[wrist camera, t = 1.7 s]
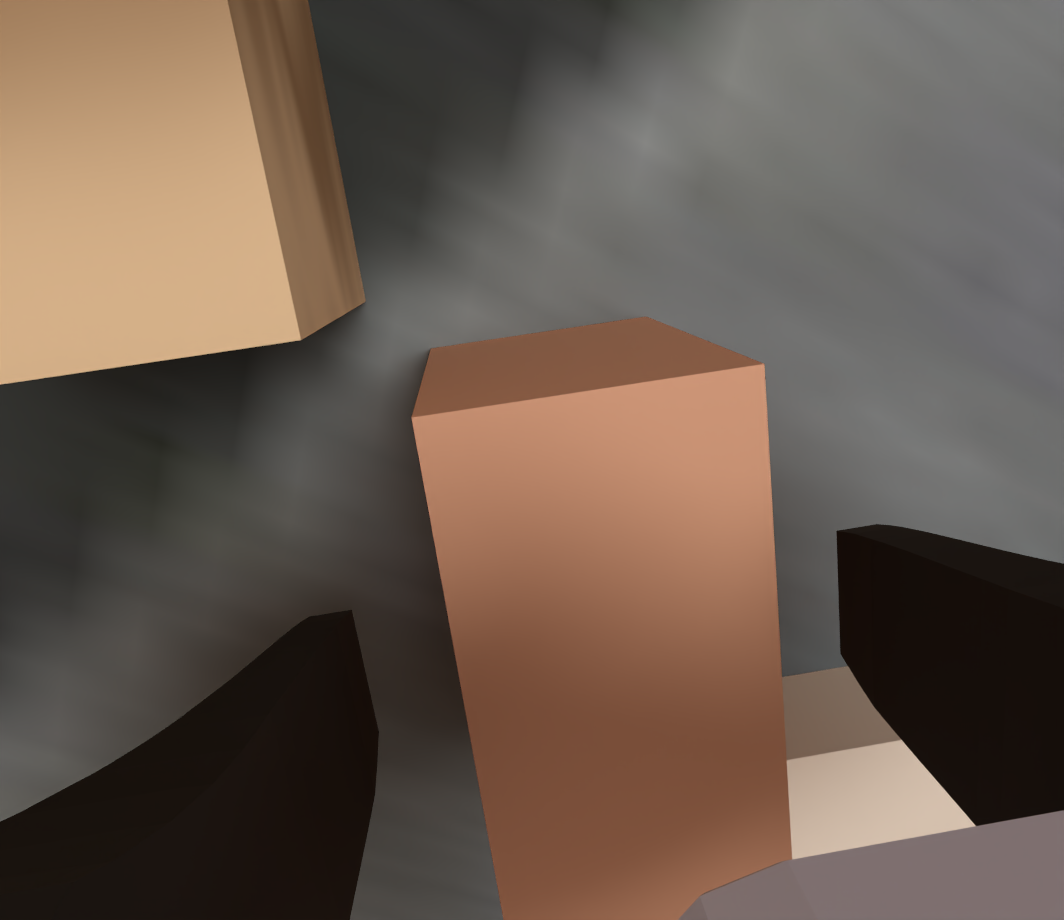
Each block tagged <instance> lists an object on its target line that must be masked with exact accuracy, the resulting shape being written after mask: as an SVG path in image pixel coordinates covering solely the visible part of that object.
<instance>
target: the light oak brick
mask: <svg viewBox="0 0 1064 920" xmlns="http://www.w3.org/2000/svg"><path fill="white" fill-rule="evenodd" d="M364 302H366V300H365V295H364V290H363V285H362V280H361V274H360V269H359V264H358V259H357V254H356V248H355V243H354V238H353V233H352V227H351V222H350V217H349V212H348V207H347V201H346V196H345V191H344V186H343V181H342V175H341V170H340V165H339V160H338V155H337V149H336V144H335V139H334V134H333V128H332V123H331V118H330V113H329V108H328V102H327V97H326V92H325V87H324V82H323V76H322V71H321V66H320V61H319V56H318V50H317V45H316V40H315V35H314V30H313V24H312V19H311V14H310V9H309V3H308V0H0V384H7V383H13V382H20V381H27V380H34V379H41V378H47V377H54V376H61V375H68V374H75V373H81V372H88V371H95V370H102V369H109V368H115V367H122V366H129V365H136V364H143V363H149V362H156V361H163V360H170V359H177V358H183V357H190V356H197V355H204V354H211V353H217V352H224V351H231V350H238V349H244V348H251V347H258V346H265V345H272V344H278V343H285V342H292V341H299V340H302V339H304V338H306V337H307V336H309V335H311V334H312V333H314V332H316V331H317V330H319V329H321V328H322V327H324V326H326V325H327V324H329V323H331V322H332V321H334V320H336V319H337V318H339V317H341V316H342V315H344V314H346V313H347V312H349V311H351V310H352V309H354V308H356V307H357V306H359V305H361V304H362V303H364Z"/></svg>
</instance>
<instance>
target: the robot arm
mask: <svg viewBox="0 0 1064 920" xmlns="http://www.w3.org/2000/svg"><path fill="white" fill-rule="evenodd" d="M837 557H838V589H839V620H840V651H841V655H842V657H843V659H844V660H845V662H846V664H847V665H848V667H849V668H850V670H851V672H852V673H853V675H854V677H855V678H856V680H857V682H858V683H859V685H860V686H861V688H862V689H863V691H864V693H865V694H866V696H867V697H868V699H869V700H870V702H871V703H872V705H873V706H874V708H875V709H876V710H877V711H878V712H879V714H880V715H881V716H882V717H883V719H884V720H885V721H886V722H887V723H888V725H889V726H890V727H891V728H892V729H893V730H894V732H895V733H896V734H897V735H898V736H899V738H900V739H901V740H902V741H903V742H904V743H905V745H906V746H907V747H908V748H909V749H910V750H911V752H912V753H913V754H914V755H915V756H916V757H917V759H918V760H919V761H920V762H921V763H922V764H923V765H924V767H925V768H926V769H927V770H928V771H929V772H930V774H931V775H932V776H933V777H934V778H935V779H936V780H937V782H938V783H939V784H940V785H941V786H942V787H943V789H944V790H945V791H946V792H947V793H948V794H949V796H950V797H951V798H952V799H953V800H954V801H955V802H956V804H957V805H958V806H959V807H960V808H961V809H962V811H963V812H964V813H965V814H966V815H967V816H968V817H969V819H970V820H971V821H972V822H973V823H974V824H975V826H974V827H969V828H963V829H958V830H952V831H947V832H941V833H936V834H930V835H925V836H919V837H914V838H908V839H902V840H897V841H891V842H886V843H880V844H875V845H869V846H864V847H858V848H853V849H847V850H842V851H836V852H831V853H825V854H820V855H814V856H808V857H803V858H797V859H792V860H786V861H781V862H778V863H776V864H774V865H771V866H769V867H766V868H764V869H761V870H759V871H756V872H754V873H752V874H749V875H747V876H744V877H742V878H739V879H737V880H735V881H732V882H730V883H727V884H725V885H722V886H720V887H717V888H715V889H713V890H710V891H708V892H705V893H703V894H702V895H701V896H699V897H698V899H697V900H696V901H695V902H694V903H693V904H692V905H691V906H690V907H689V908H688V909H687V910H686V912H685V913H684V914H683V915H682V916H681V917H680V918H679V919H678V920H1064V564H1062V563H1057V562H1052V561H1047V560H1043V559H1038V558H1034V557H1029V556H1025V555H1020V554H1016V553H1012V552H1008V551H1003V550H999V549H995V548H991V547H987V546H982V545H978V544H974V543H970V542H966V541H962V540H958V539H954V538H949V537H945V536H941V535H937V534H932V533H928V532H924V531H919V530H914V529H909V528H904V527H898V526H891V525H879V524H876V525H870V526H864V527H858V528H852V529H845V530H839V531H837ZM378 736H379V731H378V727H377V722H376V718H375V713H374V709H373V704H372V700H371V695H370V691H369V686H368V682H367V677H366V673H365V668H364V664H363V659H362V655H361V650H360V646H359V641H358V637H357V632H356V628H355V623H354V619H353V614H352V610H348V611H342V612H336V613H330V614H324V615H318V616H312V617H308V618H307V619H305V620H303V621H302V622H300V623H299V624H298V625H296V626H295V627H294V628H292V629H291V630H290V631H289V632H287V633H286V634H285V635H284V636H282V637H281V638H280V639H279V640H278V641H276V642H275V643H274V644H273V645H272V646H270V647H269V648H268V649H267V650H266V651H264V652H263V653H262V654H261V655H260V656H258V657H257V658H256V659H255V660H254V661H252V662H251V663H250V664H249V665H248V666H246V667H245V668H244V669H243V670H242V671H240V672H239V673H238V674H237V675H235V676H234V677H233V678H232V679H231V680H229V681H228V682H227V683H226V684H224V685H223V686H222V687H220V688H219V689H218V690H216V691H215V692H214V693H212V694H211V695H210V696H208V697H207V698H206V699H204V700H203V701H202V702H201V703H199V704H198V705H197V706H195V707H194V708H193V709H191V710H190V711H189V712H187V713H186V714H185V715H183V716H182V717H181V718H179V719H178V720H177V721H175V722H174V723H172V724H171V725H170V726H168V727H167V728H165V729H164V730H162V731H161V732H159V733H158V734H156V735H155V736H153V737H152V738H150V739H149V740H147V741H146V742H144V743H143V744H141V745H140V746H138V747H136V748H135V749H133V750H132V751H130V752H128V753H127V754H125V755H124V756H122V757H120V758H119V759H117V760H115V761H114V762H112V763H111V764H109V765H107V766H106V767H104V768H102V769H100V770H99V771H97V772H95V773H93V774H92V775H90V776H88V777H86V778H84V779H82V780H80V781H78V782H76V783H75V784H73V785H71V786H69V787H67V788H65V789H63V790H61V791H60V792H58V793H56V794H54V795H52V796H50V797H48V798H46V799H45V800H43V801H41V802H39V803H37V804H35V805H33V806H31V807H30V808H28V809H26V810H24V811H22V812H20V813H18V814H16V815H14V816H12V817H10V818H7V819H5V820H3V821H1V822H0V920H350V915H351V910H352V905H353V900H354V895H355V891H356V886H357V881H358V876H359V871H360V866H361V862H362V857H363V852H364V847H365V842H366V837H367V832H368V827H369V822H370V817H371V812H372V807H373V801H374V796H375V787H376V773H377V756H378Z"/></svg>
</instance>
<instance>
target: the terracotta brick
mask: <svg viewBox="0 0 1064 920" xmlns="http://www.w3.org/2000/svg"><path fill="white" fill-rule="evenodd" d="M412 423H413V428H414V434H415V439H416V445H417V450H418V456H419V461H420V467H421V472H422V477H423V483H424V488H425V494H426V499H427V505H428V510H429V516H430V521H431V527H432V532H433V537H434V543H435V548H436V554H437V559H438V565H439V570H440V576H441V581H442V587H443V592H444V597H445V603H446V608H447V614H448V619H449V625H450V630H451V636H452V641H453V646H454V652H455V657H456V663H457V668H458V674H459V679H460V685H461V690H462V696H463V701H464V706H465V712H466V717H467V723H468V728H469V734H470V739H471V745H472V750H473V756H474V761H475V766H476V772H477V777H478V783H479V788H480V794H481V799H482V805H483V810H484V816H485V821H486V826H487V832H488V837H489V843H490V848H491V854H492V859H493V865H494V870H495V876H496V881H497V886H498V892H499V897H500V903H501V908H502V914H503V919H504V920H678V919H679V918H680V917H681V916H682V915H683V914H684V913H685V912H686V910H687V909H688V908H689V907H690V906H691V905H692V904H693V903H694V902H695V901H696V900H697V899H698V897H699V896H701V895H702V894H703V893H705V892H708V891H710V890H713V889H715V888H717V887H720V886H722V885H725V884H727V883H730V882H732V881H735V880H737V879H739V878H742V877H744V876H747V875H749V874H752V873H754V872H756V871H759V870H761V869H764V868H766V867H769V866H771V865H774V864H776V863H778V862H781V861H786V860H792V846H791V828H790V811H789V793H788V775H787V757H786V740H785V722H784V704H783V686H782V669H781V651H780V633H779V615H778V598H777V580H776V562H775V544H774V527H773V509H772V491H771V474H770V456H769V438H768V420H767V403H766V385H765V367H764V364H763V363H761V362H758V361H756V360H753V359H751V358H748V357H746V356H743V355H741V354H738V353H736V352H733V351H731V350H728V349H726V348H723V347H721V346H718V345H716V344H713V343H711V342H708V341H706V340H703V339H701V338H698V337H696V336H693V335H691V334H689V333H686V332H684V331H681V330H679V329H676V328H674V327H671V326H669V325H666V324H664V323H661V322H659V321H656V320H654V319H651V318H649V317H640V318H633V319H627V320H620V321H613V322H606V323H600V324H593V325H586V326H579V327H573V328H566V329H559V330H552V331H546V332H539V333H532V334H525V335H519V336H512V337H505V338H498V339H492V340H485V341H478V342H472V343H465V344H458V345H451V346H445V347H438V348H431V350H430V354H429V357H428V361H427V364H426V368H425V371H424V375H423V379H422V382H421V386H420V389H419V393H418V396H417V400H416V404H415V407H414V411H413V414H412Z"/></svg>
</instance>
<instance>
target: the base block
mask: <svg viewBox="0 0 1064 920" xmlns="http://www.w3.org/2000/svg"><path fill="white" fill-rule="evenodd" d="M782 686H783V704H784V722H785V740H786V757H787V775H788V793H789V811H790V828H791V846H792V859H797V858H803V857H808V856H814V855H820V854H825V853H831V852H836V851H842V850H847V849H853V848H858V847H864V846H869V845H875V844H880V843H886V842H891V841H897V840H902V839H908V838H914V837H919V836H925V835H930V834H936V833H941V832H947V831H952V830H958V829H963V828H969V827H974V826H975V824H974V823H973V822H972V821H971V820H970V819H969V817H968V816H967V815H966V814H965V813H964V812H963V811H962V809H961V808H960V807H959V806H958V805H957V804H956V802H955V801H954V800H953V799H952V798H951V797H950V796H949V794H948V793H947V792H946V791H945V790H944V789H943V787H942V786H941V785H940V784H939V783H938V782H937V780H936V779H935V778H934V777H933V776H932V775H931V774H930V772H929V771H928V770H927V769H926V768H925V767H924V765H923V764H922V763H921V762H920V761H919V760H918V759H917V757H916V756H915V755H914V754H913V753H912V752H911V750H910V749H909V748H908V747H907V746H906V745H905V743H904V742H903V741H902V740H901V739H900V738H899V736H898V735H897V734H896V733H895V732H894V730H893V729H892V728H891V727H890V726H889V725H888V723H887V722H886V721H885V720H884V719H883V717H882V716H881V715H880V714H879V712H878V711H877V710H876V709H875V708H874V706H873V705H872V703H871V702H870V700H869V699H868V697H867V696H866V694H865V693H864V691H863V689H862V688H861V686H860V685H859V683H858V682H857V680H856V678H855V677H854V675H853V673H852V672H851V670H850V668H849V667H848V666H845V667H839V668H834V669H828V670H822V671H816V672H810V673H804V674H798V675H792V676H786V677H782Z"/></svg>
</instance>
